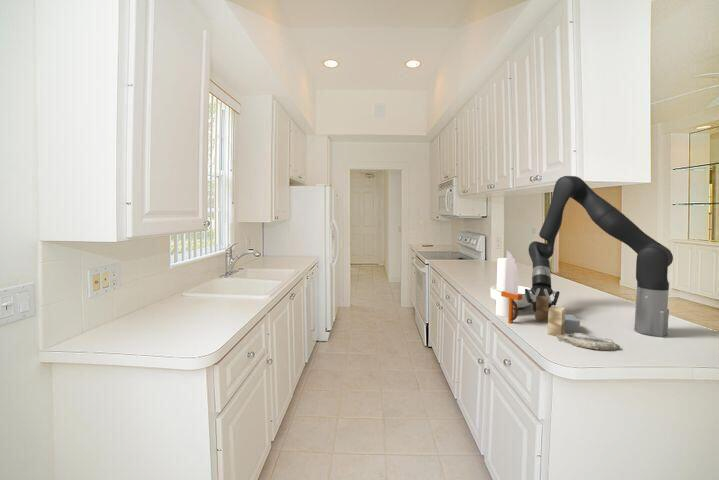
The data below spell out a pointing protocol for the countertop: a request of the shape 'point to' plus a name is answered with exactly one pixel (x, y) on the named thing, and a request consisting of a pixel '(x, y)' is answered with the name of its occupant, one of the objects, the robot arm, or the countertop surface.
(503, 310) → the cylindrical container
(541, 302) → the walnut block
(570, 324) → the base block
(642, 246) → the robot arm
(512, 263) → the knife
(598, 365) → the countertop surface
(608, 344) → the fossil
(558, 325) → the oak block
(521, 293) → the bowl
